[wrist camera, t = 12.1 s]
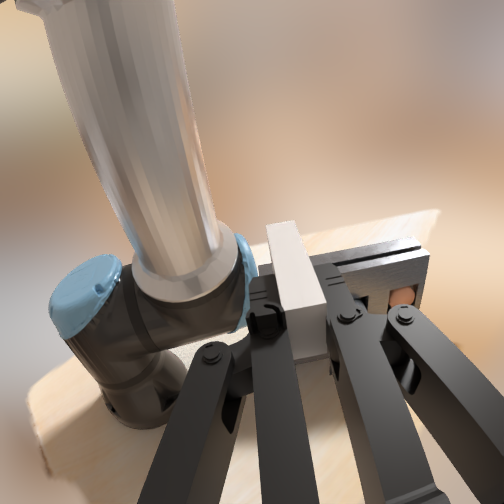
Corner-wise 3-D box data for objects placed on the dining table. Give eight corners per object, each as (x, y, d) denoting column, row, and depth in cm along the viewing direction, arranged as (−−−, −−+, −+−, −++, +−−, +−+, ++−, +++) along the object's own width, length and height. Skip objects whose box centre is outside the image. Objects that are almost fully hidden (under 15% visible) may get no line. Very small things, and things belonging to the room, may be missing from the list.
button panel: (277, 367, 44) (260, 288, 36) (273, 344, 48) (258, 265, 40) (412, 335, 43) (429, 254, 35) (401, 316, 47) (413, 236, 39)
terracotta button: (389, 313, 39) (392, 292, 37) (383, 303, 42) (385, 282, 40) (412, 307, 39) (416, 286, 37) (405, 297, 41) (409, 276, 39)
